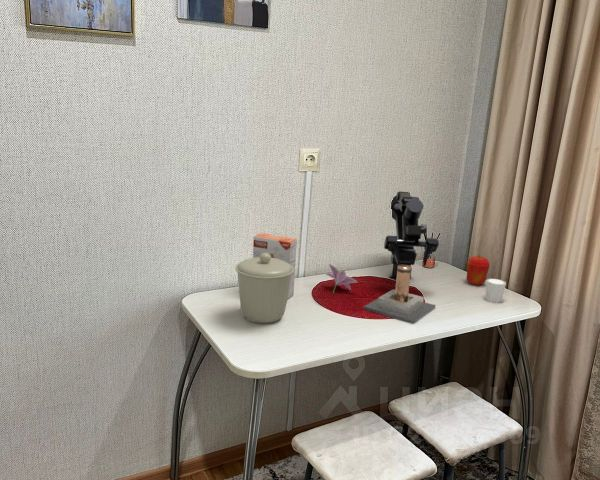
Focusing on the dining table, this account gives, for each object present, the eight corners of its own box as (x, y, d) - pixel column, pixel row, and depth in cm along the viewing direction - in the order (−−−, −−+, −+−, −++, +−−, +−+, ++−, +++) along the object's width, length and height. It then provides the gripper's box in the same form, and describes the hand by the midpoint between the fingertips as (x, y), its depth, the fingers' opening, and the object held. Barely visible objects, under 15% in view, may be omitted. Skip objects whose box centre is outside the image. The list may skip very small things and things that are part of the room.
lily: (358, 299, 204) (364, 273, 206) (331, 289, 199) (338, 263, 201) (339, 298, 215) (346, 273, 217) (313, 289, 210) (320, 264, 211)
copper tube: (391, 303, 196) (395, 265, 192) (402, 302, 198) (406, 264, 194) (398, 308, 192) (402, 269, 188) (409, 307, 194) (413, 268, 190)
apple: (468, 278, 231) (472, 250, 228) (489, 283, 226) (493, 254, 223) (461, 283, 224) (465, 254, 221) (482, 288, 219) (486, 259, 216)
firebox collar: (363, 309, 193) (364, 298, 192) (388, 295, 207) (389, 284, 206) (413, 323, 183) (414, 312, 182) (435, 308, 197) (436, 297, 196)
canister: (271, 334, 170) (275, 266, 164) (222, 319, 178) (223, 254, 173) (301, 314, 185) (305, 252, 180) (254, 302, 194) (257, 241, 188)
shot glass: (500, 297, 212) (503, 279, 210) (505, 303, 205) (508, 285, 203) (481, 295, 212) (484, 277, 211) (485, 302, 206) (488, 283, 204)
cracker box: (250, 293, 201) (252, 235, 196) (258, 288, 207) (260, 231, 201) (287, 300, 196) (290, 241, 191) (294, 295, 202) (297, 237, 196)
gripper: (388, 213, 204) (388, 252, 196) (441, 217, 204) (443, 256, 196) (383, 229, 214) (384, 267, 206) (434, 232, 213) (436, 270, 206)
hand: (411, 264), depth 203 cm, fingers open, 9 cm apart
